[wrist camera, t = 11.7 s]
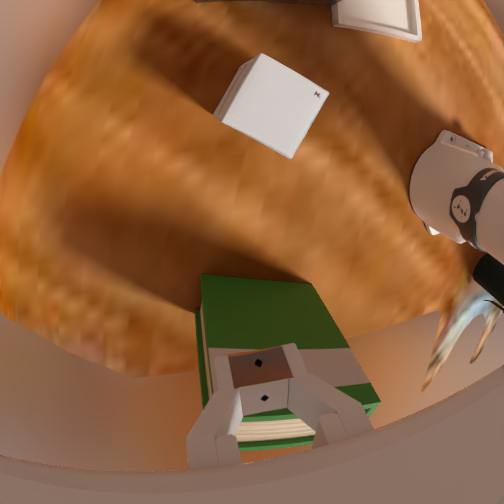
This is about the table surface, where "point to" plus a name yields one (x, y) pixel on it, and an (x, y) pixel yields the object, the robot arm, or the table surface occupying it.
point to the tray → (380, 17)
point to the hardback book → (270, 335)
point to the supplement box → (271, 104)
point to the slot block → (314, 0)
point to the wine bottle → (491, 277)
